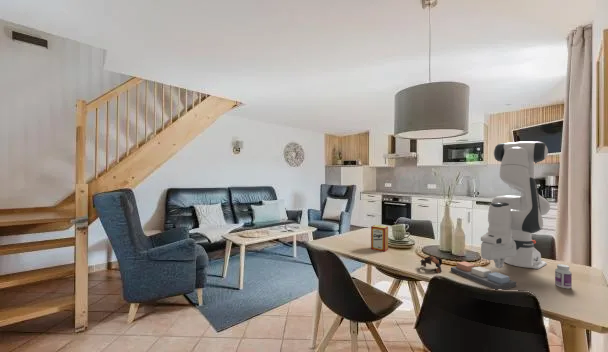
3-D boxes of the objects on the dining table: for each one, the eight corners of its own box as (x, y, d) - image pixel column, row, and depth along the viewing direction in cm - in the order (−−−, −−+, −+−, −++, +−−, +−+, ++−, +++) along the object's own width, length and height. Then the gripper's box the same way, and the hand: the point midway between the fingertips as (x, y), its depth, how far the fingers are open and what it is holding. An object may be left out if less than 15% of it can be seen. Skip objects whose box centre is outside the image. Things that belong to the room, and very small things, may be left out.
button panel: (466, 268, 140) (466, 264, 140) (516, 286, 118) (516, 281, 118) (450, 271, 136) (450, 267, 136) (499, 290, 114) (499, 286, 114)
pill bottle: (570, 286, 118) (571, 265, 118) (572, 290, 114) (572, 268, 114) (554, 282, 122) (554, 262, 122) (555, 286, 118) (555, 265, 118)
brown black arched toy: (435, 275, 132) (426, 260, 134) (423, 277, 140) (415, 262, 142) (450, 266, 136) (441, 251, 139) (437, 268, 145) (429, 254, 147)
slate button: (496, 278, 123) (496, 272, 123) (509, 283, 118) (509, 276, 118) (488, 280, 121) (488, 273, 121) (501, 285, 116) (501, 278, 116)
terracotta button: (464, 266, 138) (464, 261, 138) (475, 270, 133) (475, 264, 133) (456, 268, 136) (456, 262, 136) (467, 272, 131) (467, 266, 131)
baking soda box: (388, 249, 175) (388, 226, 175) (384, 251, 170) (384, 227, 169) (374, 246, 181) (374, 224, 180) (371, 249, 175) (371, 225, 175)
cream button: (479, 272, 131) (479, 266, 131) (491, 276, 125) (491, 270, 125) (471, 273, 129) (471, 267, 129) (483, 278, 123) (483, 272, 123)
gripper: (506, 234, 126) (505, 262, 126) (478, 237, 118) (477, 267, 118) (520, 237, 120) (520, 266, 120) (492, 240, 112) (492, 272, 112)
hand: (499, 267), depth 119 cm, fingers closed
